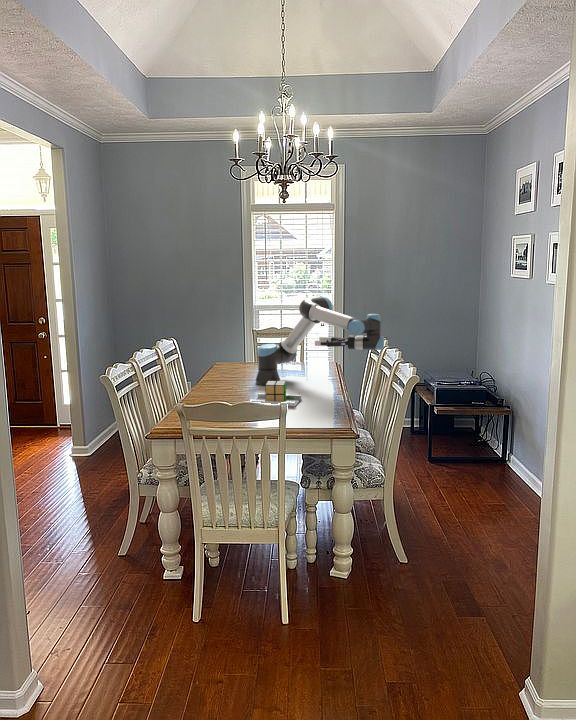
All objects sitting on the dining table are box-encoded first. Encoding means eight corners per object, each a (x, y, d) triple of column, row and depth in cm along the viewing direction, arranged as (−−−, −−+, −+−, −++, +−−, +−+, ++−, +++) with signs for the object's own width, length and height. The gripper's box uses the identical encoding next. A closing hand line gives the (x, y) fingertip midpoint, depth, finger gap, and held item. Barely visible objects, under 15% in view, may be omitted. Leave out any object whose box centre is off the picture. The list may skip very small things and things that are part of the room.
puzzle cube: (267, 399, 320) (267, 380, 318) (286, 399, 319) (286, 381, 318) (265, 403, 310) (265, 384, 309) (284, 403, 310) (284, 385, 308)
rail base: (249, 405, 310) (249, 400, 309) (258, 398, 326) (258, 393, 325) (294, 407, 304) (294, 402, 304) (301, 400, 321) (301, 395, 320)
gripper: (352, 352, 313) (312, 351, 318) (358, 345, 337) (321, 344, 342) (352, 338, 312) (312, 337, 317) (358, 332, 336) (321, 331, 341)
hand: (317, 341), depth 330 cm, fingers open, 13 cm apart
